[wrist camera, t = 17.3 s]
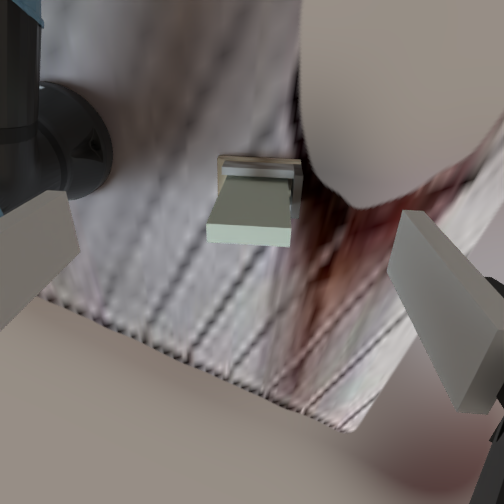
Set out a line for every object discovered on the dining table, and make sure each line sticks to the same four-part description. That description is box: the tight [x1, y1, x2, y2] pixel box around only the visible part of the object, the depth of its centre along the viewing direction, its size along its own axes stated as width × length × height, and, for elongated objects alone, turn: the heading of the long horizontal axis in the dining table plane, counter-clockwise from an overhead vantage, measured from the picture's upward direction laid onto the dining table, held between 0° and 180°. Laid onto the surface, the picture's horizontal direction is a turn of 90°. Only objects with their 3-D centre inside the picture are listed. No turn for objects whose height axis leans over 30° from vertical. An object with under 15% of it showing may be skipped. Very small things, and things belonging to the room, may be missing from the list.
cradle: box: [217, 155, 303, 219], centre depth 46 cm, size 11×6×6 cm, turn 88°
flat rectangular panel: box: [206, 175, 291, 247], centre depth 40 cm, size 8×3×16 cm, turn 88°
